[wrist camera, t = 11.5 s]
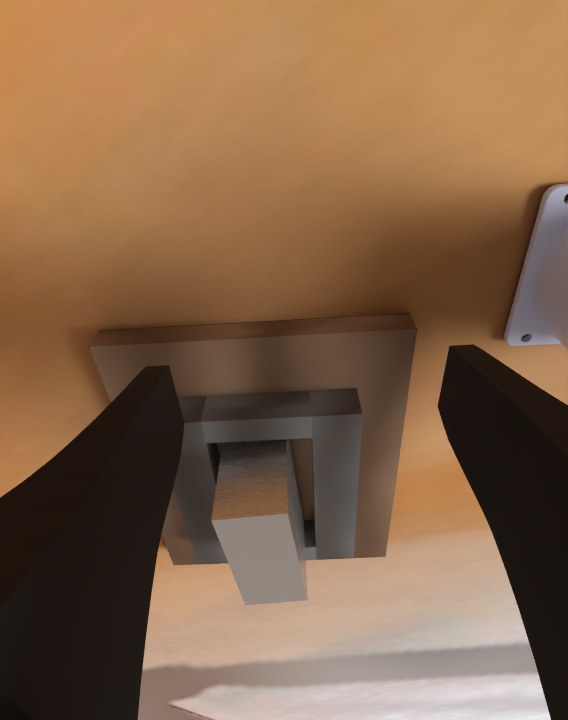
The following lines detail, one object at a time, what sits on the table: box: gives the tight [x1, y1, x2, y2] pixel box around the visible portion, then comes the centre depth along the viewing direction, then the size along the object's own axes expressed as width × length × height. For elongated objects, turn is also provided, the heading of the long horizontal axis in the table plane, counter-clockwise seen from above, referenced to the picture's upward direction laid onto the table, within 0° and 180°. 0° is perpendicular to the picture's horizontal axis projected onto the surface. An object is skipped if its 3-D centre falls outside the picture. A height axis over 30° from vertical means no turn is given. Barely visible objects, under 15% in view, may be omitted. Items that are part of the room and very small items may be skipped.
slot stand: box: [89, 313, 417, 565], centre depth 27 cm, size 16×20×4 cm
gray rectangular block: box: [211, 439, 308, 605], centre depth 24 cm, size 4×8×6 cm, turn 8°
